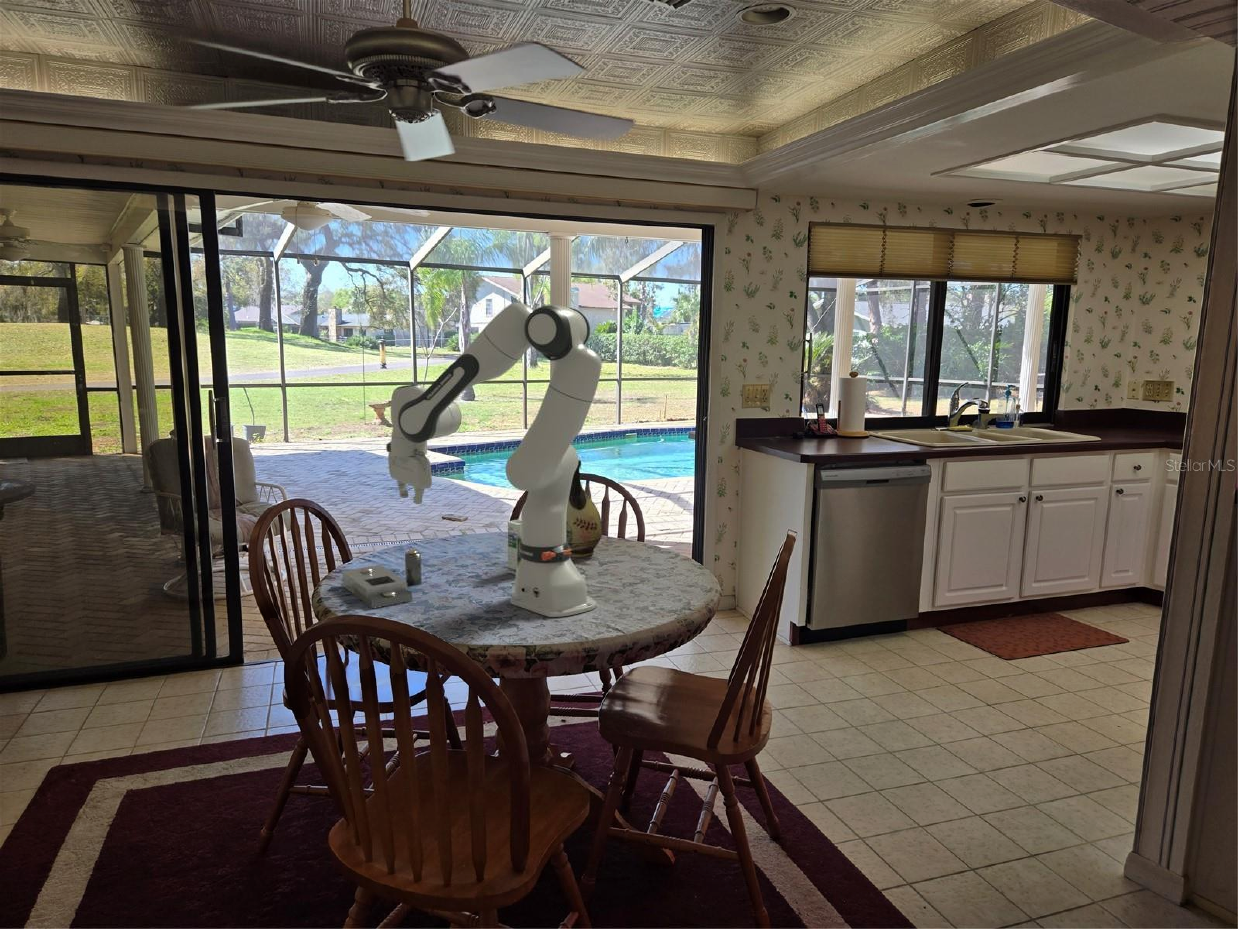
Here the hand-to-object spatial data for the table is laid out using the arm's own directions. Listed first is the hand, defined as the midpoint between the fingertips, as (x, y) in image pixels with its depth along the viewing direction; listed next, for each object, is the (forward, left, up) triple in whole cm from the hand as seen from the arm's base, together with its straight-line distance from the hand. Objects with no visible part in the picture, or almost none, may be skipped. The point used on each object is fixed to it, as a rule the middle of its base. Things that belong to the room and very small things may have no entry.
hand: (410, 500), depth 201 cm
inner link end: (-8, +11, -22) cm, 26 cm away
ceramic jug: (-1, -51, -22) cm, 56 cm away
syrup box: (-8, -28, -22) cm, 37 cm away
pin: (0, 0, -22) cm, 22 cm away
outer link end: (-2, +11, -22) cm, 25 cm away
